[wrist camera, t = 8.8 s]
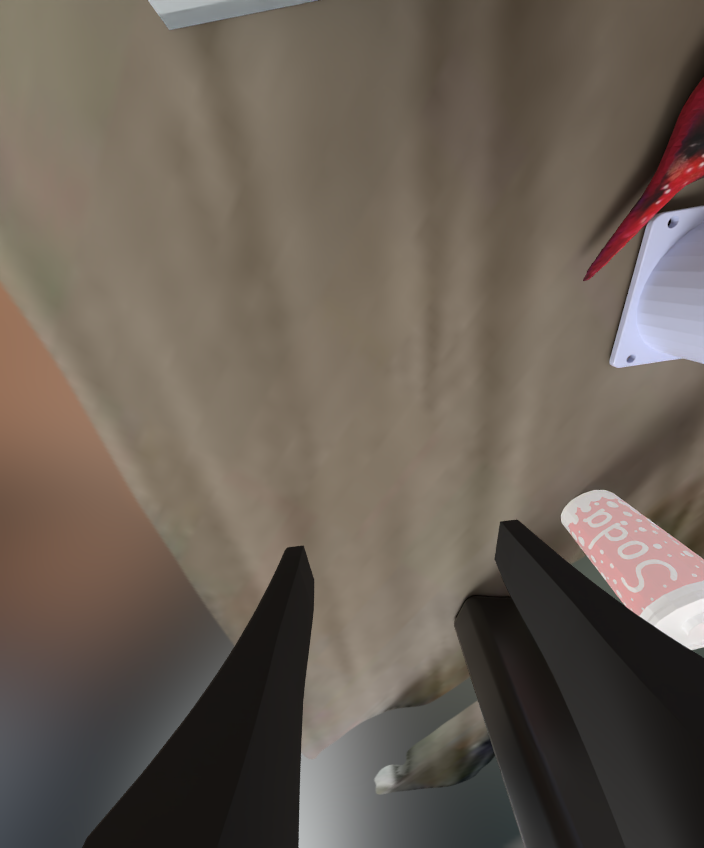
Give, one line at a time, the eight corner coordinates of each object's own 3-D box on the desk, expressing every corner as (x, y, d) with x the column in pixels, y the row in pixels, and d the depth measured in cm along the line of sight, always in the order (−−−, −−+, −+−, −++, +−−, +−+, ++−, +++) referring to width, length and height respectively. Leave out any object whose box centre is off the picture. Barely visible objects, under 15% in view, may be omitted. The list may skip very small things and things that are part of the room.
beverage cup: (620, 469, 23) (945, 707, 11) (632, 516, 26) (907, 751, 13) (542, 504, 24) (750, 748, 12) (561, 545, 27) (750, 782, 15)
